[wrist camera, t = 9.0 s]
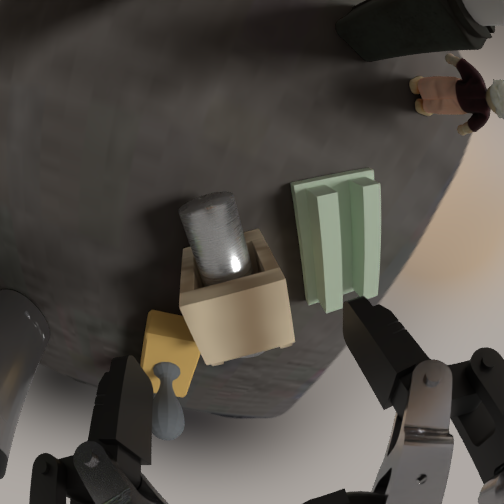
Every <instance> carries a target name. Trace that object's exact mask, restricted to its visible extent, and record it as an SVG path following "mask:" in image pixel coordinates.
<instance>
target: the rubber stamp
mask: <svg viewBox="0 0 504 504" xmlns="http://www.w3.org/2000/svg"><path fill="white" fill-rule="evenodd" d="M199 356H200V351H199V349H198V347H197V345H196V343H195V341H194V338H193V336H192V334H191V332H190V330H189V328H188V326H187V323H186V321H185V319H184V317H183V316H180V315H175V314H171V313H166V312H161V311H156V310H151V311H150V312H149V313H148V317H147V322H146V328H145V335H144V341H143V348H142V356H141V363H140V366H141V367H142V369H143V370H144V372H145V373H146V374H147V376H148V377H149V379H150V380H151V383H152V386H153V393H157V394H156V396H155V397H154V399H153V411H152V433H153V434H154V435H155V436H156V437H158V438H160V439H162V440H173V439H175V438H177V437H178V436H179V435H180V434H181V433H182V432H183V429H184V424H185V422H184V415H183V411H182V408H181V405H180V403H179V401H178V399H177V397H184V396H185V395H186V394H187V391H188V388H189V385H190V382H191V379H192V377H193V374H194V371H195V368H196V365H197V362H198V359H199ZM176 396H177V397H176Z"/></svg>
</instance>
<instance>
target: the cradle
mask: <svg viewBox="0 0 504 504" xmlns="http://www.w3.org/2000/svg"><path fill="white" fill-rule="evenodd" d="M290 185H291V191H292V198H293V204H294V211H295V218H296V225H297V232H298V240H299V247H300V255H301V263H302V271H303V280H304V289H305V298H306V301H307V303H308V305H311V304H315V303H318V302H319V303H320V304H321V306H322V307H323V309H324V311H325V312H326V313H329V312H332V311H335V310H338V309H341V308H343V294H346V293H348V292H351V291H354V290H355V291H356V293H357V294H358V295H359V296H364V297H366V298H367V299H369V298H372V297H375V296H377V295H378V284H379V269H380V247H381V189H380V183H379V182H376V181H374V170H373V169H370V168H363V169H357V170H351V171H346V172H341V173H335V174H330V175H325V176H320V177H315V178H310V179H305V180H301V181H296V182H291V183H290Z"/></svg>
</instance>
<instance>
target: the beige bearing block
mask: <svg viewBox="0 0 504 504" xmlns="http://www.w3.org/2000/svg"><path fill="white" fill-rule="evenodd" d="M244 237H245V241H246V244H247V248H248V252H249V256H250V260H251V263H252V267H253V271H254V274H253V275H249V276H246V277H242V278H238V279H234V280H231V281H227V282H223V283H219V284H215V285H211V286H208V287H205V284H204V282H203V279H202V276H201V274H200V271H199V268H198V266H197V263H196V260H195V258H194V255H193V252H192V249H191V247H187V248H183V254H182V267H181V282H180V299H179V308H180V310H181V312H182V315H183V317H184V319H185V321H186V323H187V326H188V328H189V330H190V332H191V334H192V336H193V338H194V341H195V343H196V345H197V347H198V349H199V351H200V353H201V355H202V357H203V359H204V361H205V363H206V365H209V364H212V366H216V365H220V364H224V362H223V361H227V360H231V359H235V358H239V357H243V356H247V355H251V354H255V353H258V352H262V351H266V350H269V349H273V348H276V347H280V348H285V347H288V346H291V345H292V343H293V342H295V338H294V331H293V324H292V317H291V310H290V304H289V297H288V291H287V285H286V279H285V277H284V275H283V273H282V271H281V269H280V267H279V266H278V264H277V262H276V260H275V258H274V256H273V254H272V252H271V251H270V249H269V247H268V245H267V243H266V241H265V239H264V237H263V236H262V234H261V232H260V230H259V229H255V230H251V231H247V232H244Z"/></svg>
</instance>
